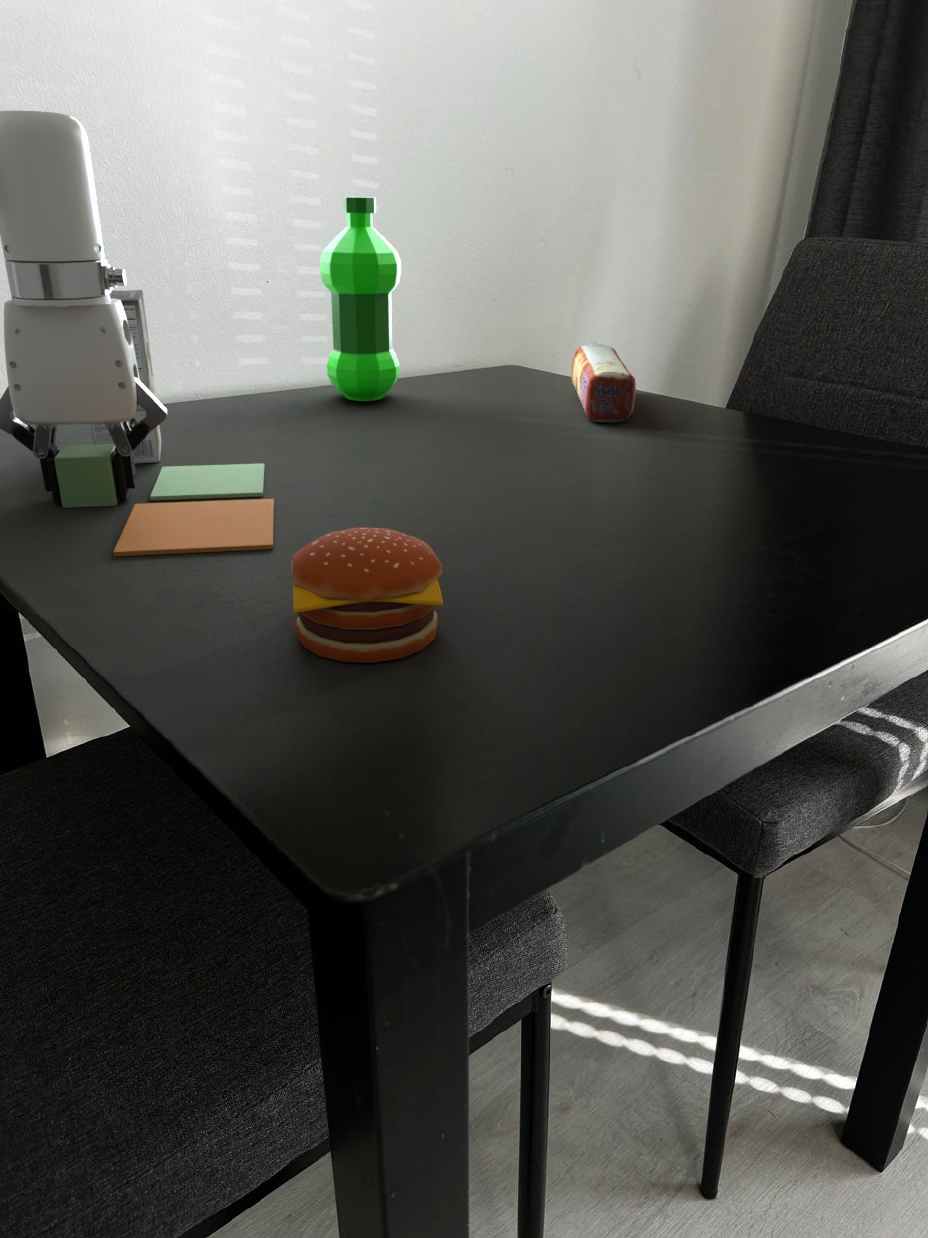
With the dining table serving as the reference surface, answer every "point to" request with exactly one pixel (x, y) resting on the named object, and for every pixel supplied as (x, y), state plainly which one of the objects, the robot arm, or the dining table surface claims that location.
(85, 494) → the green block
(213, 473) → the green mat
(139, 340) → the coffee box
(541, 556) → the dining table surface
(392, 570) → the hamburger
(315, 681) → the dining table surface
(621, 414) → the snack package
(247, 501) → the caramel mat
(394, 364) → the plastic bottle
